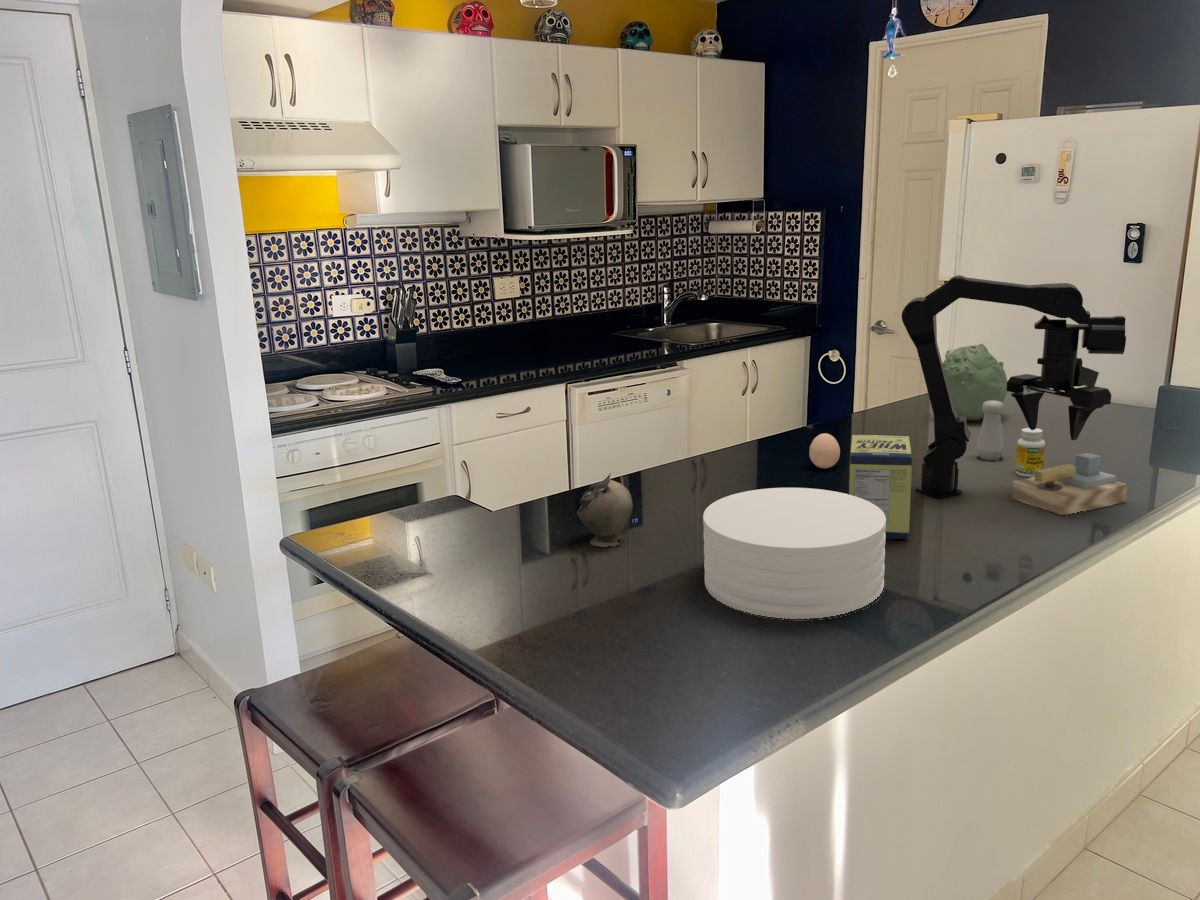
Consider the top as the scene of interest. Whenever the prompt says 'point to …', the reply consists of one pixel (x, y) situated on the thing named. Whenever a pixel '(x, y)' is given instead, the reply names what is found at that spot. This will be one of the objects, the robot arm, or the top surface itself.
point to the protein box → (884, 477)
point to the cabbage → (974, 380)
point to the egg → (824, 451)
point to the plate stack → (794, 552)
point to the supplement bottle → (1030, 452)
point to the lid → (1089, 472)
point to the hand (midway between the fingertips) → (1053, 434)
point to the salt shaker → (991, 432)
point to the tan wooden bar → (1054, 474)
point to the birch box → (1067, 495)
